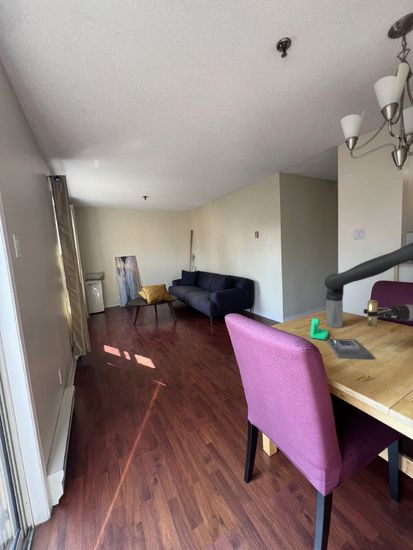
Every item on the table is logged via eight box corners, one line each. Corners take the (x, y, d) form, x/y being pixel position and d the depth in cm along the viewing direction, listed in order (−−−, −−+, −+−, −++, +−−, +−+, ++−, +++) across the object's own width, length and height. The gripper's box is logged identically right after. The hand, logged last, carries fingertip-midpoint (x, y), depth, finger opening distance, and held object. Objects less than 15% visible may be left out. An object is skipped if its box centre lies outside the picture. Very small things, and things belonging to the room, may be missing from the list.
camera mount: (325, 341, 126) (325, 323, 125) (310, 339, 131) (310, 321, 130) (328, 334, 136) (328, 317, 135) (314, 332, 140) (314, 315, 139)
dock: (326, 342, 125) (326, 334, 124) (355, 342, 122) (355, 334, 121) (338, 358, 107) (338, 349, 107) (372, 359, 104) (372, 349, 104)
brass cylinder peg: (365, 324, 118) (366, 299, 116) (374, 324, 117) (375, 299, 115) (369, 326, 114) (369, 301, 112) (378, 326, 113) (379, 301, 112)
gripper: (397, 301, 118) (359, 301, 122) (415, 309, 104) (373, 309, 108) (396, 315, 119) (359, 315, 123) (415, 325, 105) (372, 324, 109)
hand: (366, 312), depth 115 cm, fingers closed on brass cylinder peg, 4 cm apart
